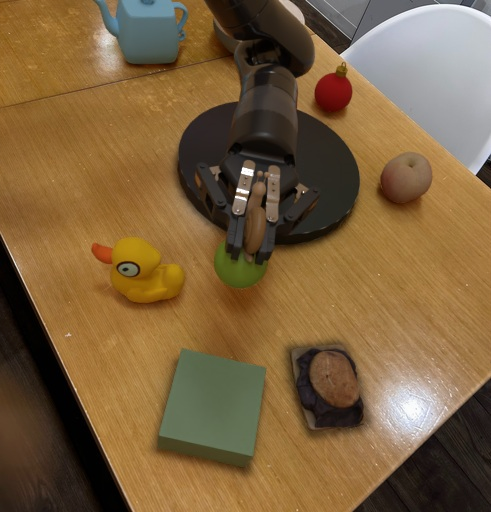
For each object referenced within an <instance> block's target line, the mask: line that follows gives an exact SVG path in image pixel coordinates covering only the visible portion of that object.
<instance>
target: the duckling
mask: <svg viewBox="0 0 491 512" xmlns="http://www.w3.org/2000/svg"><path fill="white" fill-rule="evenodd" d="M90 251H91V253H92V254H93V256H94V258H95V259H96V260H97V261H99V262H101V263H103V264H105V265H112V267H111V270H110V273H109V281H110V283H111V285H112V287H113V289H114V290H116V291H117V292H119V293H120V294H121V295H122V296H124V297H126V298H127V299H128V300H129V301H130V302H133V303H139V304H149V303H153V302H157V301H158V302H159V301H163V300H170V299H173V298H175V297H177V296H178V295H179V294H180V293H181V291H182V290H183V288H184V285H185V280H186V272H185V269H184V268H183V267H182V266H181V265H180V264H178V263H170V264H169V263H163V264H162V263H161V262H162V258H163V257H162V254H161V252H160V251H159V250H158V249H157V248H156V247H155V246H154V245H153V244H151V243H150V242H149V241H148V240H146V239H145V238H142V237H139V236H127V237H123V238H121V239H118V240H117V241H116V242H115V243H114V245H113V246H112V247H109V246H106V245H102V244H99V243H98V242H94V243H92V245H91V249H90Z"/></svg>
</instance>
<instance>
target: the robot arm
mask: <svg viewBox="0 0 491 512" xmlns="http://www.w3.org/2000/svg"><path fill="white" fill-rule="evenodd" d="M203 2H204V4H205V5H206V6H207V8H208V10H209V12H211V14H212V16H213V15H214V17H215V18H216V20H217V21H218V23H219V24H220V26H221V27H222V29H223V30H224V31H225V33H226V34H227V35H228V36H229V37H231V38H232V39H234V40H238V41H241V42H240V43H239V44H238V46H237V47H236V49H235V52H234V54H233V62H234V66H235V67H234V68H235V71H236V73H237V75H238V76H237V77H238V80H239V87H240V91H239V96H238V100H237V101H238V106H237V108H236V110H235V113H234V116H233V121H232V126H231V128H230V136H229V141H228V147H227V152H226V156H225V158H223V159H222V160H221V161H220V163H219V166H214V167H209V166H208V165H207V164H206V163H203V162H200V163H198V164H197V166H196V173H195V180H194V185H195V187H196V189H197V191H198V193H199V195H200V197H201V199H202V201H203V203H204V205H205V207H206V209H207V211H208V213H209V215H210V217H211V219H212V220H213V221H214V222H221V221H222V222H224V223H225V224H226V225H227V227H228V230H227V232H226V238H225V239H226V242H225V251H226V253H230V254H231V257H230V259H231V260H236V261H238V258H239V254H240V251H241V246H242V239H243V232H244V225H245V218H244V217H243V216H244V212H245V208H246V206H247V204H248V201H249V198H250V196H251V194H252V187H253V185H254V184H255V183H256V182H257V179H258V182H262V183H263V182H264V180H265V182H264V185H265V186H266V192H265V194H264V195H263V197H262V202H261V206H260V207H262V208H263V209H264V210H265V213H266V230H265V235H264V239H263V242H262V245H261V247H260V248H259V250H258V251H257V252H256V256H255V264H257V265H263V262H264V260H265V261H268V262H269V261H270V259H271V257H272V255H273V252H274V250H275V245H274V243H275V234H278V233H280V234H281V235H282V236H289V235H290V234H291V233H292V232H293V231H294V229H295V228H296V227H297V226H298V225H299V224H300V223H301V222H302V221H303V220H304V219H305V218H306V217H307V216H308V215H309V214H310V213H311V212H312V211H313V210H314V208H315V205H316V203H317V201H318V199H319V196H320V194H321V190H320V188H318V187H316V186H313V187H311V188H310V189H308V188H307V187H305V186H304V185H302V184H300V183H299V181H300V179H299V176H298V174H297V173H296V170H295V166H296V150H297V134H298V118H297V109H298V100H299V99H298V97H299V86H298V82H297V79H298V78H301V77H303V76H306V75H307V74H308V73H309V72H310V71H311V69H312V68H313V65H314V63H315V58H316V48H315V43H314V40H313V38H312V36H311V34H310V32H309V31H308V29H307V28H306V26H304V25H303V24H302V23H301V22H300V21H299V20H298V19H297V18H296V17H295V16H294V15H293V14H292V13H291V12H290V11H289V10H287V9H286V8H285V7H284V6H283V4H282V3H281V2H280V1H279V0H203ZM258 171H262V172H263V175H262V176H261V177H259V178H258V176H257V172H258ZM265 172H269V173H270V176H269V177H268V178H266V179H265V177H264V173H265ZM218 179H220V180H221V181H222V183H223V184H224V186H225V187H226V189H227V190H228V192H229V193H230V195H231V196H232V197H233V198H234V203H233V206H232V205H230V204H228V203H227V200H226V198H225V196H224V194H223V193H222V191H221V189H220V187H219V185H218ZM292 194H294V195H295V200H294V204H293V205H292V206H291V207H290V208H289V209H288V210H287V211H286V212H285V214H282V215H278V205H279V204H280V203H282V202H283V201H284V200H286V199H287V198H288V197H290V196H291V195H292Z"/></svg>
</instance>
